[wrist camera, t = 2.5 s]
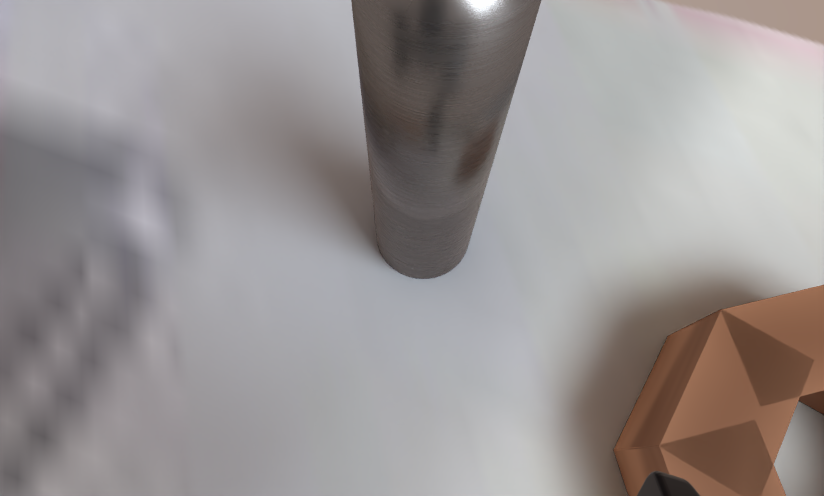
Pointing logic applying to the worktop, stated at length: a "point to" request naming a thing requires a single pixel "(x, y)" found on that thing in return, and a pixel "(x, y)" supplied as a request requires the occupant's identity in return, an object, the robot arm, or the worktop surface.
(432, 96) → the brushed steel cylinder
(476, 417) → the worktop surface
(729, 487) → the bead
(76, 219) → the worktop surface
